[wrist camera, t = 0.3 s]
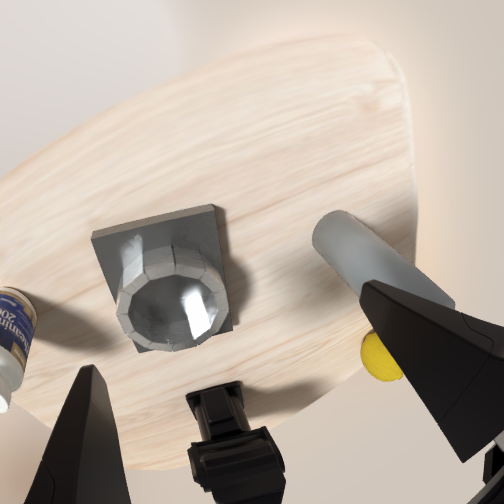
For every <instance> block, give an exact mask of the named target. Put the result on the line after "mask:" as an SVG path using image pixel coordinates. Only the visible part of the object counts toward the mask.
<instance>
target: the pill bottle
mask: <svg viewBox="0 0 504 504" xmlns="http://www.w3.org/2000/svg"><path fill="white" fill-rule="evenodd" d="M36 322H37V317H36V312H35V310H34V307H33V305H32V304H31V303H30V301H29V300H28V299H27V298H26V297H25V296H24V295H23V294H21V293H20V292H18V291H16V290H14V289H11V288H6V287H1V288H0V413H5V412H7V411H8V409H9V405H10V400H11V392H13V391H16V390H17V389H18V388H19V387H20V386H21V384H22V381H23V377H24V372H25V367H26V362H27V358H28V354H29V350H30V346H31V342H32V338H33V334H34V331H35V327H36Z"/></svg>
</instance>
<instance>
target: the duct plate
mask: <svg viewBox="0 0 504 504" xmlns="http://www.w3.org/2000/svg"><path fill="white" fill-rule="evenodd" d="M91 241H92V244H93V247H94V250H95V253H96V255H97V258H98V261H99V263H100V266H101V269H102V271H103V274H104V276H105V279H106V281H107V284H108V286H109V289H110V291H111V294H112V296H113V298H114V301H115V303H116V305H117V307H116V315H117V318H118V320H119V322H120V324H121V326H122V328H123V330H124V332H125V334H127V336H128V337H129V338H131V339H132V340H133V342H134V344H135V346H136V349H137V351H138V353H143V352H147V351H152V350H161V351H168V352H172V349H173V352H175V351H179V350H183V349H187V348H191V347H196V346H197V344H198V345H200V344H201V343H203V342H204V341H206V340H207V339H208V338H210V337H211V336H214V335H218V334H222V333H226V332H230V331H233V326H232V320H231V314H230V308H229V302H228V295H227V289H226V283H225V276H224V270H223V263H222V256H221V250H220V243H219V236H218V229H217V222H216V215H215V209H214V208H213V206H212V204H208V205H203V206H198V207H193V208H189V209H184V210H180V211H175V212H171V213H166V214H162V215H158V216H153V217H149V218H145V219H141V220H137V221H133V222H128V223H124V224H120V225H116V226H112V227H109V228H105V229H101V230H97V231H93V233H92V237H91Z"/></svg>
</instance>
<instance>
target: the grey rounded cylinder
mask: <svg viewBox="0 0 504 504" xmlns="http://www.w3.org/2000/svg"><path fill="white" fill-rule="evenodd" d="M312 242H313V246H314V248H315V250H316V251H317V252H318V253H319V254H320V255H321V256H322V257H323V258H324V259H325V260H326V262H327V263H328V264H329V265H330V266H331V267H332V268H333V269H334V270H335V271H336V272H337V274H338V275H339V276H340V277H341V278H342V279H343V280H344V281H345V282H346V283H347V285H348V286H349V287H350V288H351V289H352V290H353V291H354V292H355V293H356V295H357V296H358V297H359V298H360V294H361V289H362V285H363V283H364V282H366V281H369V280H371V279H375V280H378V281H381V282H383V283H386V284H389V285H391V286H394V287H397V288H399V289H402V290H404V291H407V292H410V293H412V294H415V295H418V296H420V297H423V298H425V299H428V300H431V301H433V302H436V303H438V304H441V305H444V306H446V307H449V308H451V309H454V310H455V302H454V300H453V299H451V297H449V296H448V295H447V294H446V293H445V292H444V291H443V290H441V288H439V287H438V286H437V285H436V284H435V283H434V282H433V281H432V280H430V279H429V278H428V277H427V276H426V275H425V274H424V273H422V272H421V271H420V270H419V269H418V268H417V267H415V266H414V265H413V264H412V263H411V262H409V261H408V260H407V259H406V258H405V257H403V256H402V255H401V254H400V253H399V252H397V251H396V250H395V249H394V248H392V247H391V246H390V245H389V244H388V243H386V242H385V241H384V240H383V239H381V238H380V237H379V236H377V235H376V234H375V233H374V232H372V231H371V230H370V229H369V228H367V227H366V226H365V225H363V224H362V223H361V222H360V221H358V220H357V219H356V218H354V217H353V216H352V215H350V214H349V213H347V212H345V211H342V210H337V211H333V212H330V213H328V214H327V215H325V216H324V217H323V218H322V219H321V220H320V221H319V222H318V223H317V225H316V227H315V229H314V232H313V236H312Z"/></svg>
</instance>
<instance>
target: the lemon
mask: <svg viewBox="0 0 504 504" xmlns="http://www.w3.org/2000/svg"><path fill="white" fill-rule="evenodd" d="M361 360H362V363H363V365H364V366H365V368H366V369H367V370H368V372H369V373H370V374H371V375H372V376H374V377H375V378H376V379H378V380H381V381H385V382H389V381H394V380H396V379H401V378H402V377H403V372H402V370H401V369H400V368H399V366H398V365H397V363H396V362H395V360H394V359H393V358H392V356H391V355H390V353H389V352H388V350H387V349H386V348H385V346H384V345H383V343H382V342H381V340H380V339H379V337H378V336H377V334H376V333H373V334H368V335H367V336H366V339H365V341H364V342H363V344H362V347H361Z"/></svg>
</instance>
